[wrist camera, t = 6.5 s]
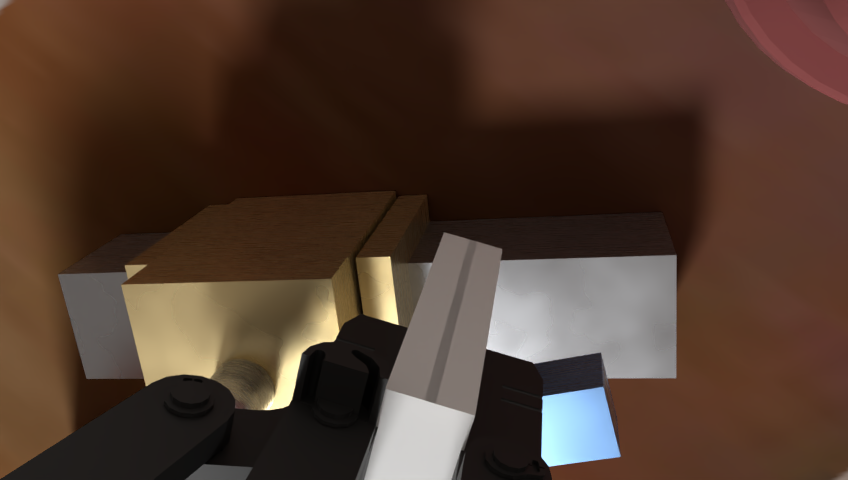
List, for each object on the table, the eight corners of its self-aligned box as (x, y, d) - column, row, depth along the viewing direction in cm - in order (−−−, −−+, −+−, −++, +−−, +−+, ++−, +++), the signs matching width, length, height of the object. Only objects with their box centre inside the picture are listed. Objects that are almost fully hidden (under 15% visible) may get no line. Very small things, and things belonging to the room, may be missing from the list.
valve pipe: (150, 354, 32) (-42, 539, 22) (113, 204, 30) (-117, 332, 20) (662, 351, 28) (711, 573, 18) (662, 177, 26) (716, 321, 16)
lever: (115, 405, 19) (83, 437, 18) (592, 317, 16) (594, 350, 15) (164, 512, 20) (136, 551, 19) (624, 449, 17) (628, 490, 16)
